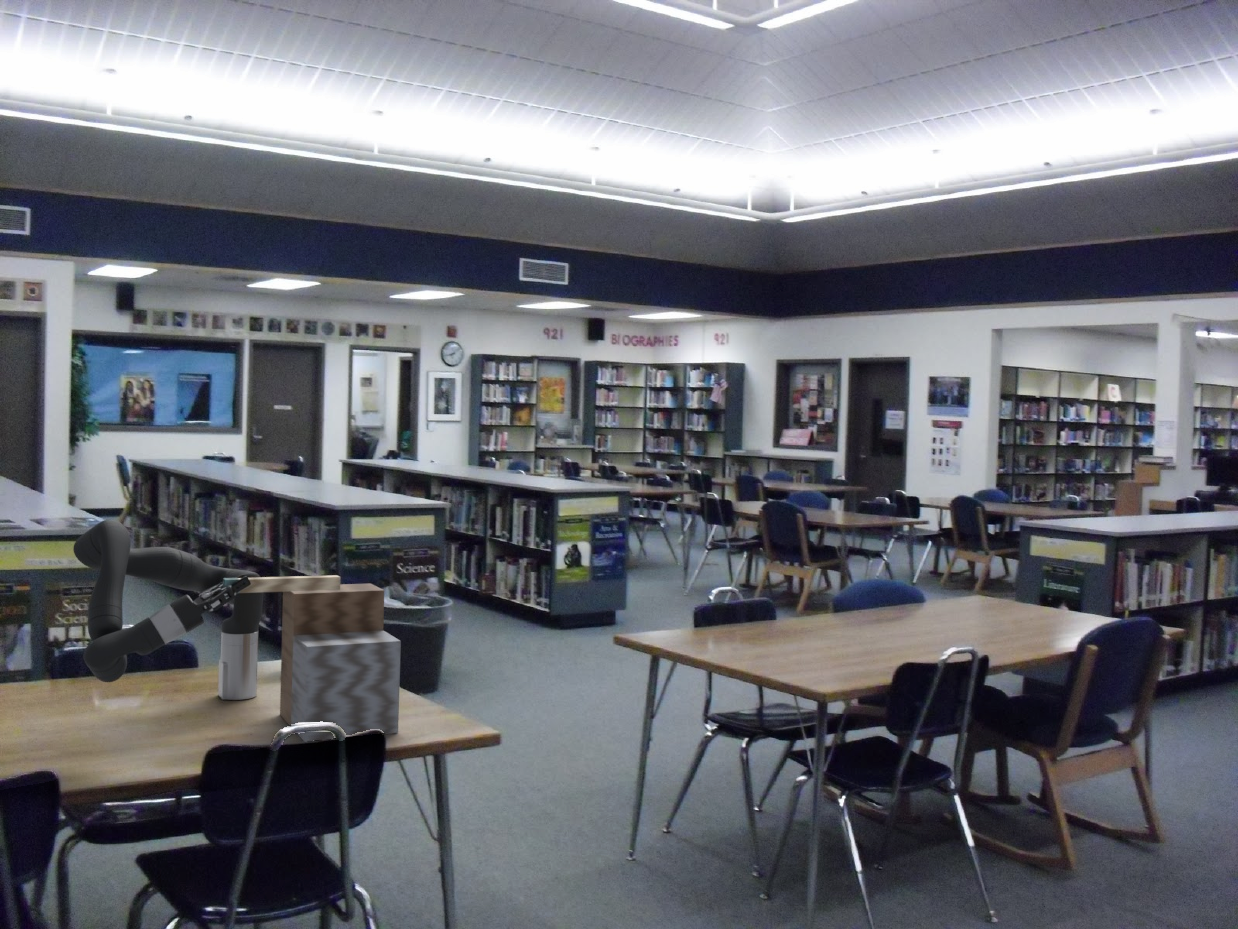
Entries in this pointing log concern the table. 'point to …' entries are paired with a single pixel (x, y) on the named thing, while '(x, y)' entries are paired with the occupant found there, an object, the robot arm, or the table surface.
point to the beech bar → (288, 583)
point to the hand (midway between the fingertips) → (246, 578)
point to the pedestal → (339, 661)
